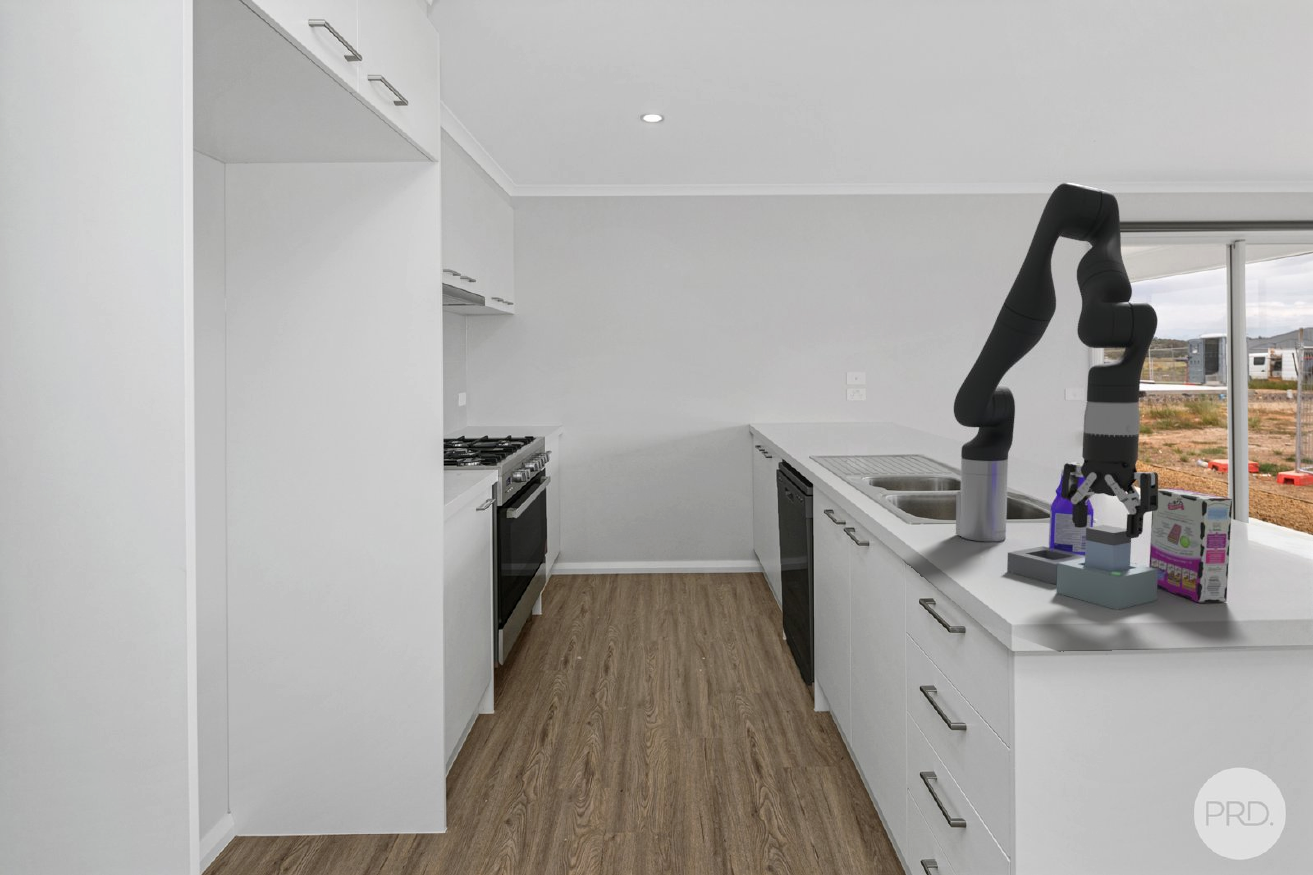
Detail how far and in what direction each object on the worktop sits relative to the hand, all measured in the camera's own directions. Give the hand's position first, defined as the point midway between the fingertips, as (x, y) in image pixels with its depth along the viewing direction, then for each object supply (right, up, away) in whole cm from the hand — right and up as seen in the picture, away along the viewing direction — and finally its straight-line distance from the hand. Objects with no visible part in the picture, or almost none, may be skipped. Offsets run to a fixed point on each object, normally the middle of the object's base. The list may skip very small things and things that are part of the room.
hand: (1105, 532), depth 121 cm
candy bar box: (+14, -10, +2) cm, 18 cm away
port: (0, -10, +1) cm, 11 cm away
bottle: (+8, -8, +24) cm, 27 cm away
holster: (-2, -9, +14) cm, 17 cm away
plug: (0, -9, +1) cm, 10 cm away
